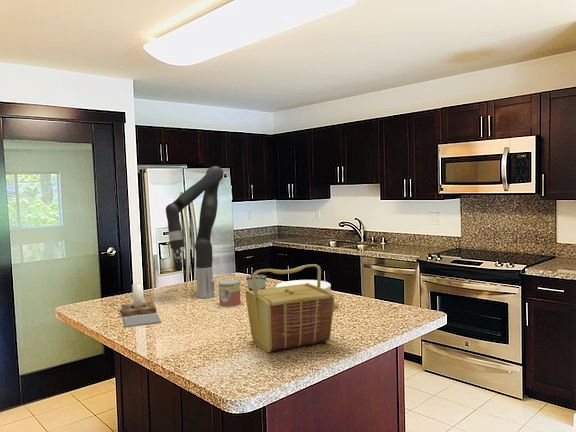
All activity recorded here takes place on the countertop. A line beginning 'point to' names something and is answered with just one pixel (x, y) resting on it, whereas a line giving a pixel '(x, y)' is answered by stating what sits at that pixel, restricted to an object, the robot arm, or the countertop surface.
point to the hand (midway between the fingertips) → (180, 268)
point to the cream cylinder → (137, 295)
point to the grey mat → (141, 320)
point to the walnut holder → (138, 309)
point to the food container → (259, 282)
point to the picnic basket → (289, 313)
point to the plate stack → (297, 282)
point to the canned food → (229, 293)
